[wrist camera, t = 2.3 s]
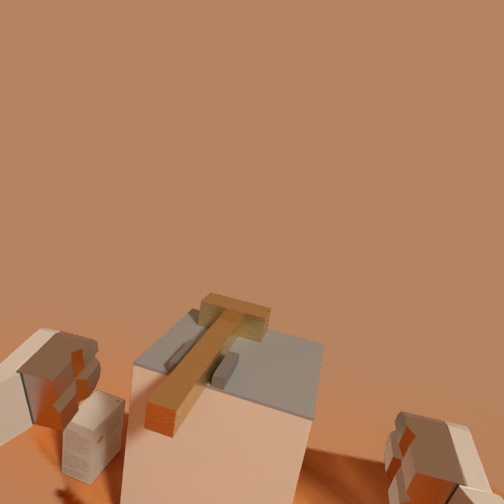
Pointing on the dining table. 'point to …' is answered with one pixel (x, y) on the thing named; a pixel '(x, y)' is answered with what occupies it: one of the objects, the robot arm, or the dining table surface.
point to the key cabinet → (224, 422)
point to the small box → (93, 437)
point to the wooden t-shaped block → (203, 359)
